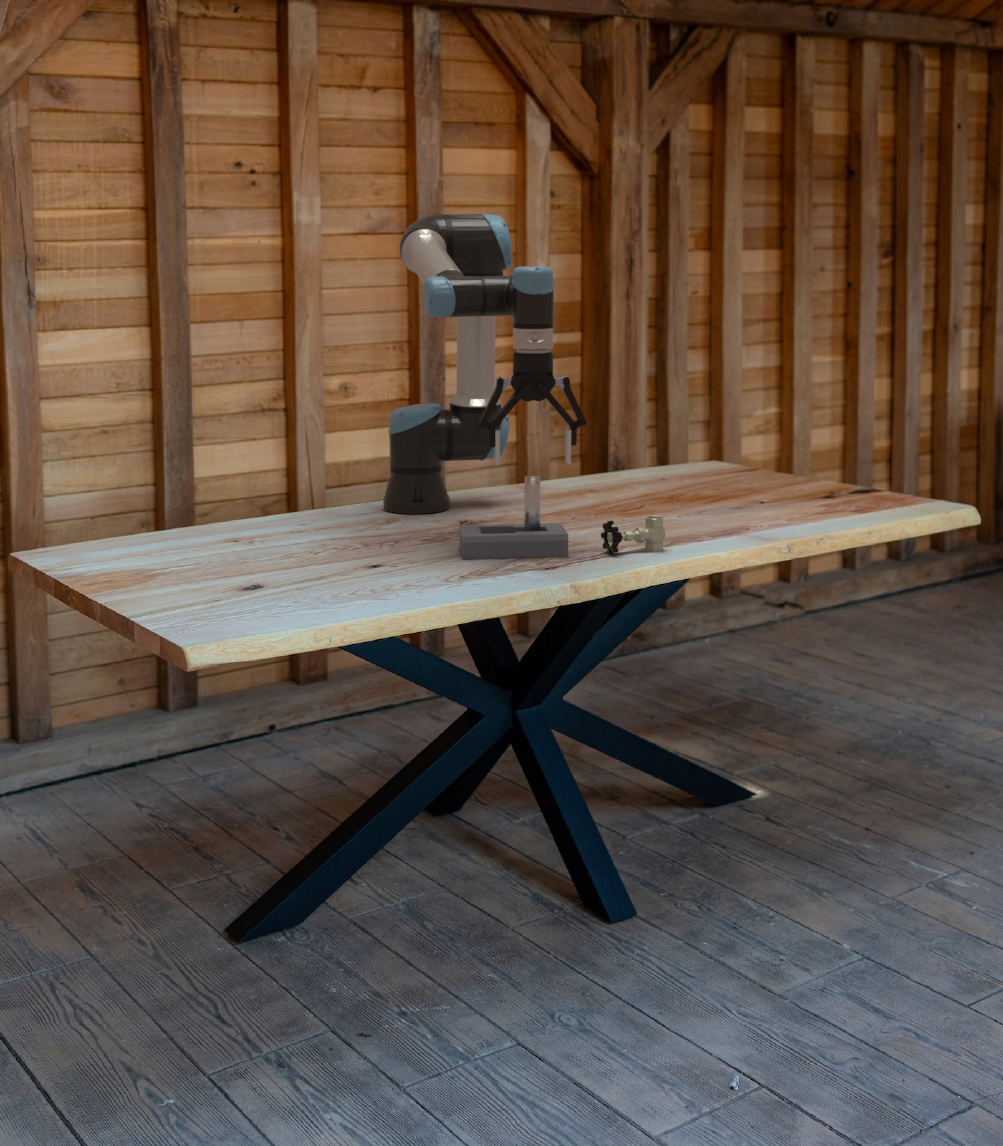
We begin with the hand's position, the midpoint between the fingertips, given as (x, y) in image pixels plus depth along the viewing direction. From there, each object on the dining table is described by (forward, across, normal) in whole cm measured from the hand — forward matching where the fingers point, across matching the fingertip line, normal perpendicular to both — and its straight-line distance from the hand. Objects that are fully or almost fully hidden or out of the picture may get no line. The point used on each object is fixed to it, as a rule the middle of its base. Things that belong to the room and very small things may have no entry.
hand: (532, 463), depth 257 cm
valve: (+17, +20, -3) cm, 26 cm away
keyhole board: (+17, -4, -1) cm, 18 cm away
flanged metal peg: (+16, 0, -1) cm, 16 cm away
